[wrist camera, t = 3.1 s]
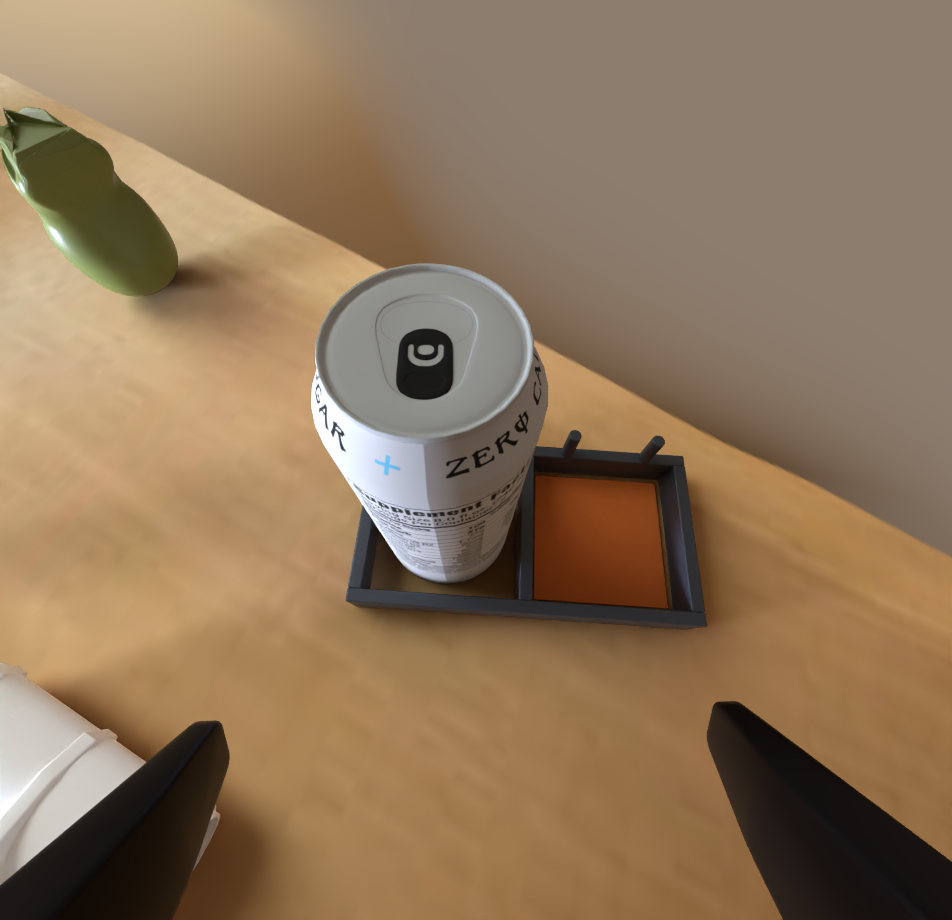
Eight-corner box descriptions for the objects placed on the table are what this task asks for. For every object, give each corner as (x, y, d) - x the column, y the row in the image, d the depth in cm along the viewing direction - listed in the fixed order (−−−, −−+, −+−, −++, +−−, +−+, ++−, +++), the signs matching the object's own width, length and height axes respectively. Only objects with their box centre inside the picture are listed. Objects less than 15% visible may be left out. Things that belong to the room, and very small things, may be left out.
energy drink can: (503, 475, 25) (550, 246, 11) (508, 586, 22) (575, 467, 9) (394, 475, 25) (307, 244, 11) (387, 587, 22) (262, 467, 9)
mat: (666, 608, 22) (668, 608, 22) (533, 599, 22) (533, 599, 22) (653, 484, 25) (654, 483, 25) (534, 476, 25) (535, 475, 25)
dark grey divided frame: (687, 629, 22) (732, 622, 18) (355, 606, 22) (332, 594, 18) (667, 470, 25) (701, 438, 22) (381, 451, 25) (367, 415, 22)
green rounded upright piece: (162, 242, 32) (39, 72, 23) (211, 276, 30) (103, 111, 21) (91, 288, 30) (-73, 124, 21) (142, 327, 29) (-10, 170, 19)
